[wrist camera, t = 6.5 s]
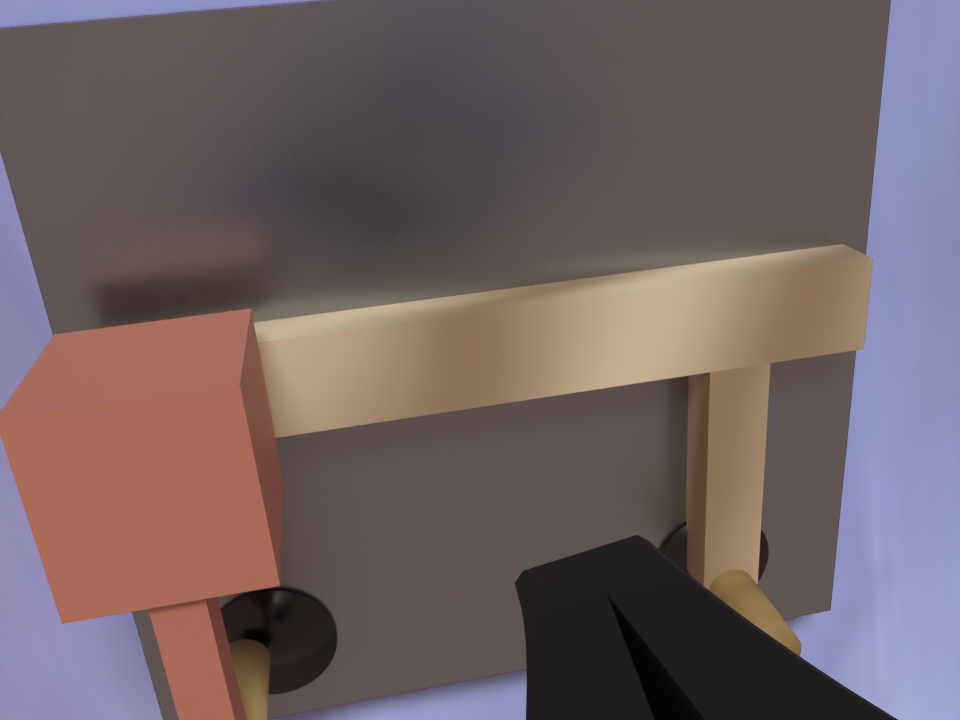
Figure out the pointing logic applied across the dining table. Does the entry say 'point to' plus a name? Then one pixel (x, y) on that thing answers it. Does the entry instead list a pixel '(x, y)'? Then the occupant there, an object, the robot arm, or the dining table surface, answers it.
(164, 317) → the bolt plate
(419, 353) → the beam
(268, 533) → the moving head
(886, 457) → the dining table surface
